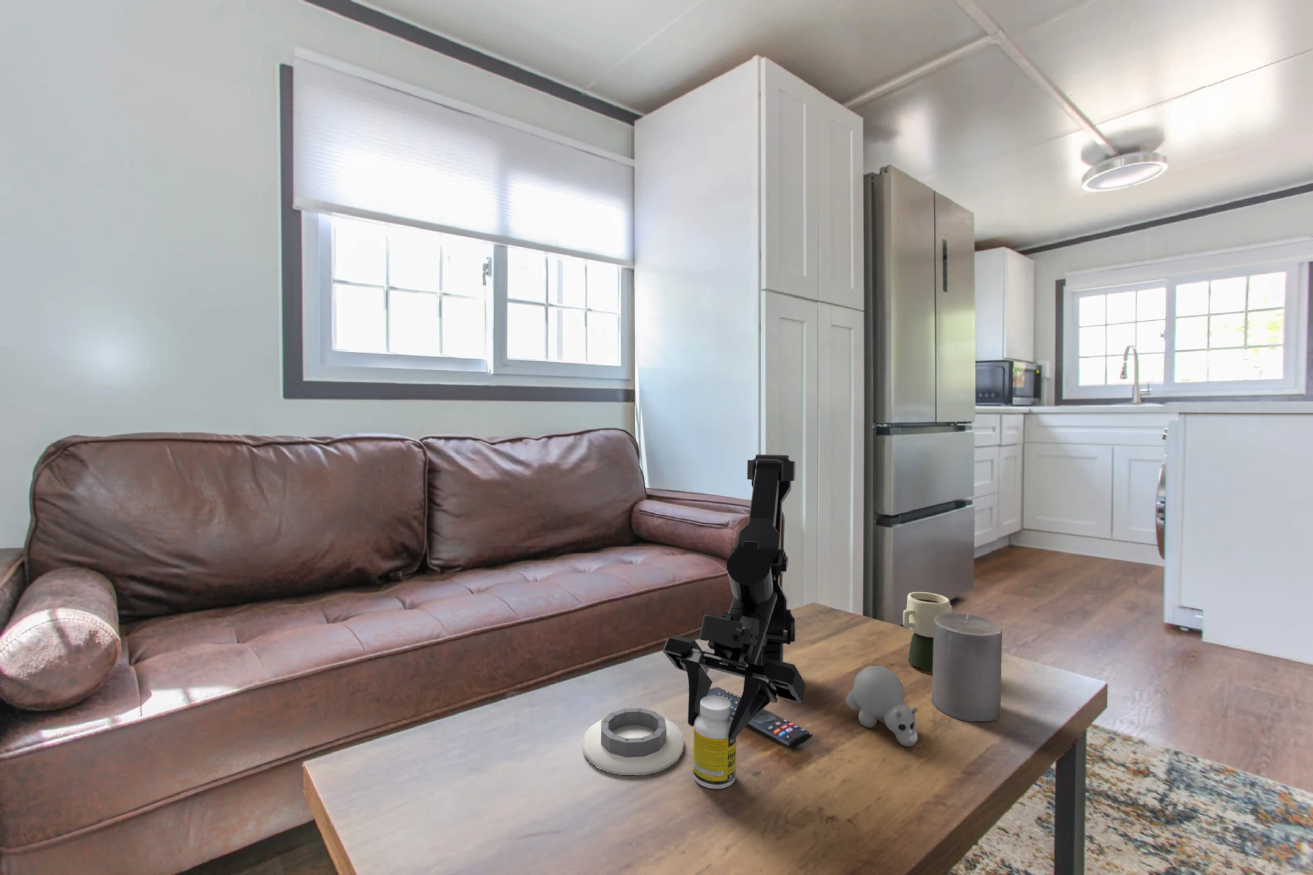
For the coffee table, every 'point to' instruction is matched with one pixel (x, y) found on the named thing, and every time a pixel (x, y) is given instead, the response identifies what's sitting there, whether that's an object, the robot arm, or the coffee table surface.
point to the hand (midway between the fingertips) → (709, 731)
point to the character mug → (923, 625)
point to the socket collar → (633, 742)
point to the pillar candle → (967, 667)
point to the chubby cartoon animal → (883, 703)
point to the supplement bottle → (714, 744)
